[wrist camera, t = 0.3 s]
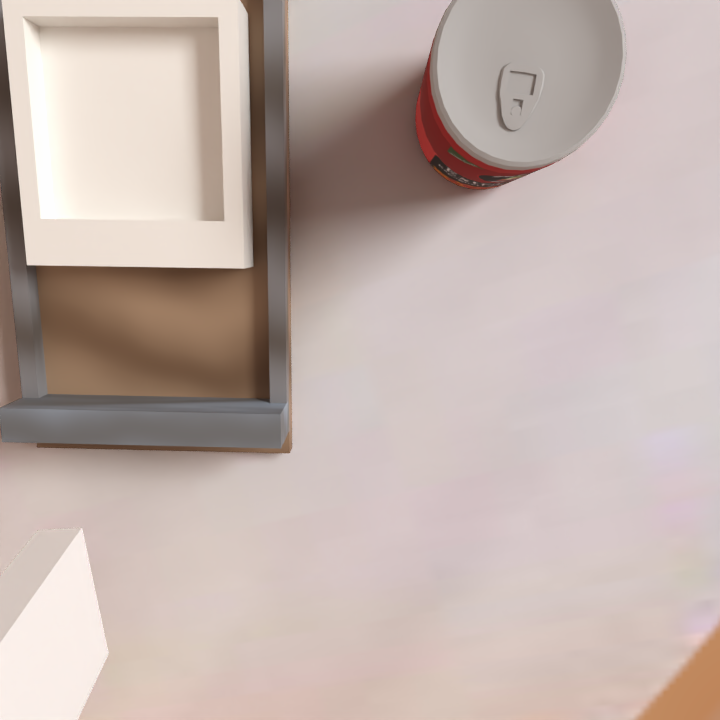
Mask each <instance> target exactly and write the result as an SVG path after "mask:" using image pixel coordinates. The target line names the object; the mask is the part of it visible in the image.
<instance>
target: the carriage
mask: <svg viewBox="0 0 720 720" xmlns="http://www.w3.org/2000/svg"><path fill="white" fill-rule="evenodd" d="M2 10H3V20H4V31H5V41H6V52H7V62H8V73H9V83H10V94H11V104H12V115H13V125H14V136H15V146H16V156H17V167H18V177H19V188H20V198H21V209H22V219H23V230H24V240H25V251H26V261H27V265H47V266H112V267H176V268H241V269H244V268H249V267H254V266H253V219H252V172H251V125H250V78H249V30H248V13H247V11H246V9H245V8H244V6H243V4H242V2H241V1H240V0H2Z"/></svg>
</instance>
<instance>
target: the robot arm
mask: <svg viewBox="0 0 720 720" xmlns="http://www.w3.org/2000/svg"><path fill="white" fill-rule="evenodd" d="M108 654H109V653H108V648H107V644H106V639H105V634H104V629H103V625H102V620H101V615H100V610H99V606H98V601H97V596H96V592H95V587H94V582H93V577H92V573H91V568H90V563H89V558H88V554H87V549H86V544H85V540H84V535H83V530H82V528H65V529H48V530H37V532H36V533H35V534H34V535H33V536H32V538H31V539H30V540H29V541H28V542H27V544H26V545H25V546H24V547H23V548H22V550H21V551H20V552H19V553H18V555H17V556H16V557H15V558H14V559H13V561H12V562H11V563H10V564H9V565H8V567H7V568H6V569H5V570H4V572H3V573H2V574H1V575H0V720H78V718H79V716H80V714H81V712H82V710H83V708H84V705H85V703H86V701H87V699H88V697H89V695H90V693H91V690H92V688H93V686H94V684H95V682H96V680H97V678H98V675H99V673H100V671H101V669H102V667H103V665H104V663H105V660H106V658H107V656H108Z"/></svg>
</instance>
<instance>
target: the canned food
mask: <svg viewBox="0 0 720 720" xmlns="http://www.w3.org/2000/svg"><path fill="white" fill-rule="evenodd" d="M625 63H626V34H625V30H624V25H623V21H622V16H621V13H620V11H619V8H618V6H617V4H616V2H615V0H452V2H451V3H450V5H449V6H448V8H447V9H446V11H445V13H444V15H443V17H442V19H441V22H440V24H439V26H438V28H437V31H436V34H435V37H434V39H433V43H432V47H431V50H430V54H429V58H428V62H427V66H426V70H425V73H424V77H423V81H422V85H421V89H420V92H419V96H418V100H417V104H416V118H415V121H416V130H417V136H418V139H419V143H420V146H421V149H422V151H423V153H424V155H425V157H426V158H427V160H428V162H429V163H430V164H431V165H432V167H433V168H434V169H435V170H436V171H437V172H438V173H439V174H440V175H442V176H443V177H444V178H445V179H447V180H449V181H451V182H452V183H454V184H456V185H459V186H462V187H466V188H470V189H489V188H495V187H498V186H501V185H504V184H506V183H509V182H511V181H514V180H516V179H518V178H521V177H523V176H526V175H528V174H530V173H533V172H535V171H538V170H540V169H542V168H545V167H547V166H549V165H552V164H554V163H555V162H557V161H560V160H561V159H563V158H564V157H566V156H568V155H569V154H571V153H572V152H574V151H576V150H577V149H578V148H579V147H580V146H581V145H582V144H583V143H584V142H586V141H587V140H588V139H589V138H590V137H591V136H592V135H593V134H594V133H595V132H596V131H597V129H598V128H599V127H600V125H601V124H602V123H603V121H604V120H605V119H606V118H607V116H608V114H609V112H610V110H611V108H612V106H613V105H614V103H615V101H616V99H617V96H618V93H619V90H620V87H621V84H622V81H623V77H624V70H625Z"/></svg>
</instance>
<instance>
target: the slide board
mask: <svg viewBox="0 0 720 720" xmlns="http://www.w3.org/2000/svg"><path fill="white" fill-rule="evenodd" d="M240 1H241V2H242V4H243V6H244V8H245V9H246V11H247V13H248V30H249V78H250V125H251V172H252V219H253V266H254V267H249V268H244V269H241V268H176V267H112V266H47V265H27V261H26V251H25V240H24V230H23V219H22V209H21V198H20V188H19V177H18V167H17V156H16V146H15V136H14V125H13V115H12V104H11V94H10V83H9V73H8V62H7V52H6V41H5V31H4V20H3V10H2V0H0V182H1V192H2V202H3V212H4V222H5V231H6V241H7V251H8V261H9V271H10V281H11V291H12V300H13V310H14V320H15V330H16V340H17V350H18V360H19V369H20V379H21V389H22V398H21V399H19V400H16V401H14V402H12V403H9V404H7V405H5V406H3V407H0V426H1V435H2V442H21V443H37V447H44V448H86V449H129V450H172V451H214V452H257V453H290V451H291V449H292V402H291V293H290V184H289V74H288V0H240Z"/></svg>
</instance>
